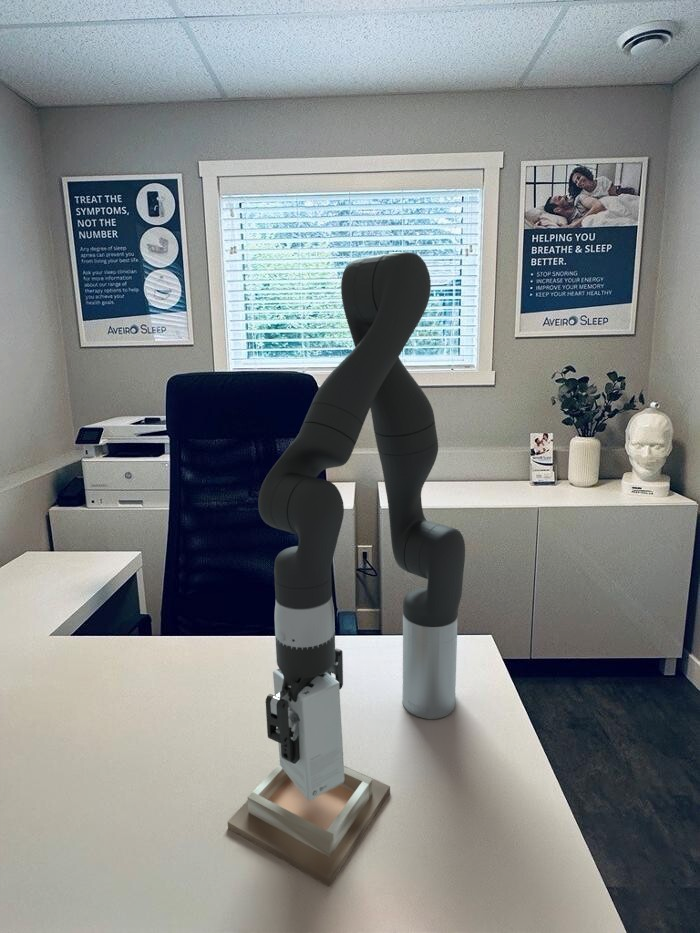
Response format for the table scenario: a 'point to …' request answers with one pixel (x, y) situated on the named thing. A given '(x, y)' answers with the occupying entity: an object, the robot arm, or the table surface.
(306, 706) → the skincare box
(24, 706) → the table surface
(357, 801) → the holder board
